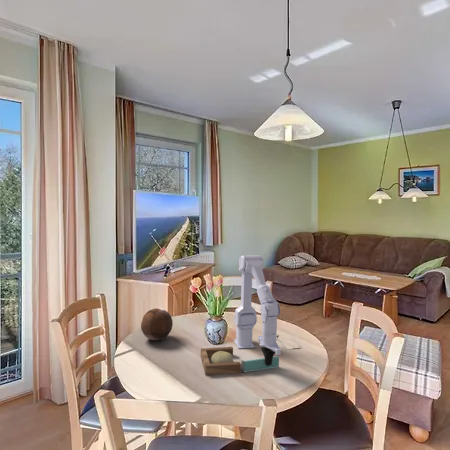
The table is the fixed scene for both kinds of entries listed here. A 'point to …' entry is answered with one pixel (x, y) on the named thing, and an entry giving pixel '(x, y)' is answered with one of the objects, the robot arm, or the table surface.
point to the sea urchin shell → (221, 357)
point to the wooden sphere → (156, 324)
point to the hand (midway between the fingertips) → (268, 365)
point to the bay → (218, 367)
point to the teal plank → (258, 364)
